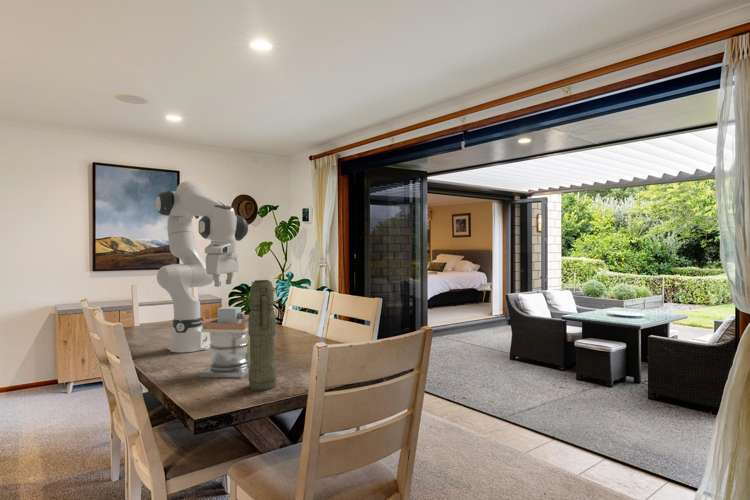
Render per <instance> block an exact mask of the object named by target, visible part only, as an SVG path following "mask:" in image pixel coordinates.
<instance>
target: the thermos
mask: <svg viewBox="0 0 750 500" xmlns="http://www.w3.org/2000/svg"><path fill="white" fill-rule="evenodd" d="M274 290H275V289H274V286H273V283H272V281H270V280H269V279H256V280H254V281H252V282H251V286H250V289H249V305H250V309H249V311H250V312H249V315H248V337H249V355H250V356H249V357H250V358H249V362H250V365H249V373H248V381H249V386H248V388H249V389H250V390H251V391H268V390H272V389H275V388H277V387H276V386H277V381H276V380H277V364H276V362H275V358H276V357H275V349H276V348H275V347H276V346H275V335H276V332H277V322H276V321H277V317H276V313H275V309H274V304H275V299H274V298H275V295H274V293H275V291H274Z"/></svg>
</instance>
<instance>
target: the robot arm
mask: <svg viewBox="0 0 750 500" xmlns="http://www.w3.org/2000/svg"><path fill="white" fill-rule="evenodd" d="M155 208H156V211H157V212H158V213H159V215H161V216H166V217H167V239H168V245H169V251H170V253H171V255H173V256H174V257H176V258H178V259H179V260H180V261H181V263H171V264H167V265H163V266H161V267H160V268H159V270H158V271H157V273H156V281H157V284H158V285H159V287H160V288H162V289H164V290H165V291H166V292H167V294H169V296H170V297H171V300H172V301H171V302H172V304H173V307H172V308H173V319H172V327H173V328H172V329H171V331H170V337H169V346H167V350H168V351H170V352H172V353H193V352H199V351H208V350H209V349H211V348H210V344H211V332H201V329H202V323H203V322H205V319H206V318H205V317H204V316H203V317H202V316H201V302H200V300H199V299H198V298H197V297H196V296H194V295H192V294H190V293H191V292H190V291H189V289H190V288H201V287H206V286H209V285H212V283H213V282H214V287H216V288H218V287H221V286H222V281H220V279H221V278H220V277H221V274H226V276H227V277H226V279H225V284H226V285H232V284H233V278H234V273H235V272H238V270H239V266H240V265H239V256H238V253H237V249H236V248H237V247H236V245H237V242H240V241H241V240H243V239H244V238H245V237H246V236H247V234H248V232H249V225H248V222H247V220H246V219H245V218H244V217H243V216H242V215H237V214H236V212H235V208H233V207H232V206H230V205H226V204H224V203H222V202H221V201H219V200H217V199H215V198H213V197H212V196H210V195H209V194H208V193H207V192H206V191H205V190H204V189H203V188H201V186H199V185H198V184H196V183H195V182H194V181H191V180H185V181H182V182H180V183H179V184H178V185H177V187H176V191H170V190H168V191H163V192H159V193H158V195H156V199H155ZM193 217H194V218H195V219H197V220H198V219H199V218H200V219H199V220H198V233H199V235H200V236H201V237H202V238H203V239H204V240H210V243H209V245H207V246H206V247H204V253H205V260H204V259H203V257H202V256H201V254H200V253H199V251H198V248H197V244H196V238H195V232H194V227H193V221H192V220H193Z"/></svg>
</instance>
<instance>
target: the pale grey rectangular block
mask: <svg viewBox="0 0 750 500" xmlns="http://www.w3.org/2000/svg"><path fill="white" fill-rule="evenodd" d="M216 312H217V314H216V315H217V316H216V317H217V318H216V319H217V323H241V319H246V318H245V316H246V315H245V312H242V307H241V306H221V307H219V308H217V311H216Z"/></svg>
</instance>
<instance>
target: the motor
mask: <svg viewBox="0 0 750 500" xmlns="http://www.w3.org/2000/svg"><path fill="white" fill-rule="evenodd" d="M201 332H209V333H210V341H211V344H210V348H209V349H210V360H211V362H210V363H211V364H210V365H209V366H208V367H205V368H204V369H201V371H199V372H198V378H199V377H200V378H202V377H203V378H234V379H235V378H236V379H237V378H238V379H242V378H243V377H245V376H246V375H249V365H250V361H249V346H250V340H249V334H248V319H247V318H244V319H241V323H217V318H214V319H211V320H208V321H204V322H202V329H201Z"/></svg>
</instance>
